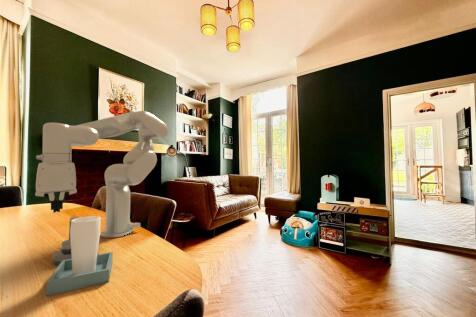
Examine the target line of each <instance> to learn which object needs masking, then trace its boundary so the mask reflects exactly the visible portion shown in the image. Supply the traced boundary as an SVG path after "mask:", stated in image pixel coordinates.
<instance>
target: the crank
mask: <svg viewBox="0 0 476 317" xmlns="http://www.w3.org/2000/svg"><path fill="white" fill-rule="evenodd" d="M76 218H79V216H72V217H70V218H69V225H68V226H69V228H68V229H69V230H68V231H69V232H68V239H65V240H63V241H61V249H60V250H61V253H64V254H66V253H71V243H70V228H71V221H72V220H73V219H76Z"/></svg>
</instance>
